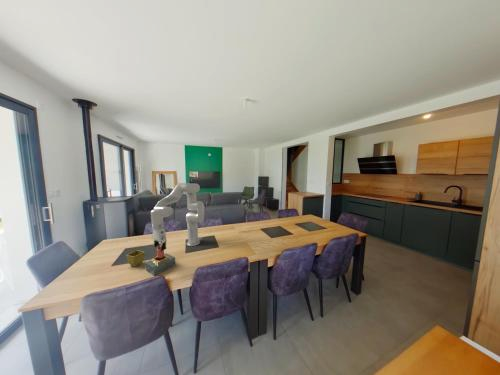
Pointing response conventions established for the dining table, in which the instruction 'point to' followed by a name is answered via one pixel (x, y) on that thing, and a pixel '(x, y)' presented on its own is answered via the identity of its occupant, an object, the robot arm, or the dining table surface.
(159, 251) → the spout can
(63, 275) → the dining table surface
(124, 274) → the dining table surface
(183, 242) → the dining table surface
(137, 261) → the flower pot
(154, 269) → the grey box with hole
